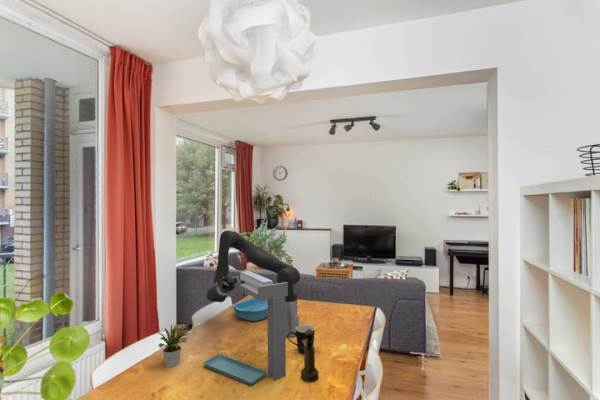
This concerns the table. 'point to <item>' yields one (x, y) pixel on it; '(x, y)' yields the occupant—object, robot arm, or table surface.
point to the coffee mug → (302, 337)
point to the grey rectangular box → (254, 279)
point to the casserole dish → (252, 309)
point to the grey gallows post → (273, 323)
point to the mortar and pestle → (309, 360)
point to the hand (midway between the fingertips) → (236, 276)
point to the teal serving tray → (235, 369)
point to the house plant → (172, 346)
